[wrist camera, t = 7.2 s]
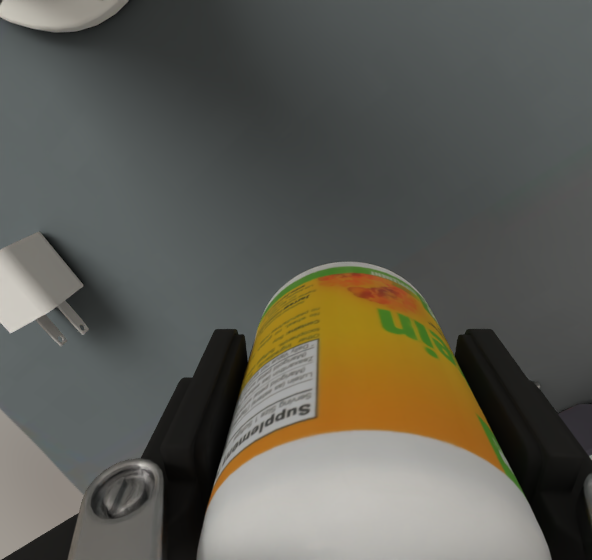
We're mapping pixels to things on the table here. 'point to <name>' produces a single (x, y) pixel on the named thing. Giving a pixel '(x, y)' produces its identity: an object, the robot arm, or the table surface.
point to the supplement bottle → (361, 437)
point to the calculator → (580, 424)
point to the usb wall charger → (36, 286)
